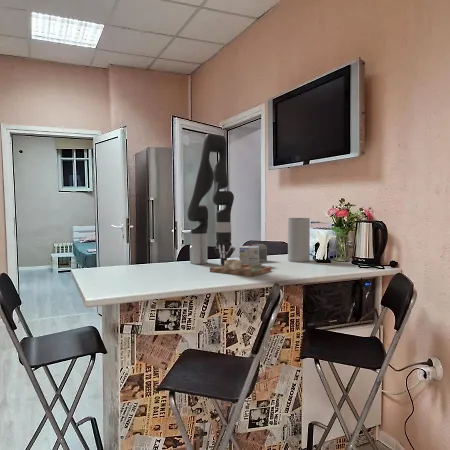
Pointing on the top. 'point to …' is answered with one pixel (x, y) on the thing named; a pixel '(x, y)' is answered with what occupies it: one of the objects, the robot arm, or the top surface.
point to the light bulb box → (249, 255)
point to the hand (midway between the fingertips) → (224, 265)
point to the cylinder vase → (299, 239)
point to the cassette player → (262, 252)
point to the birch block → (232, 264)
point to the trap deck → (243, 270)
